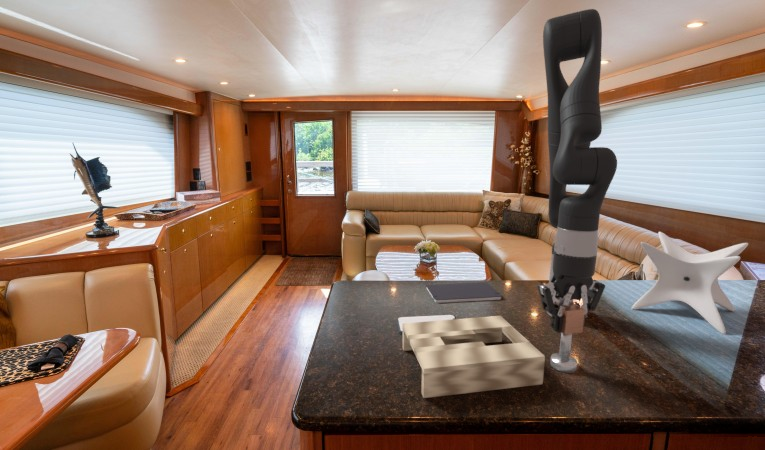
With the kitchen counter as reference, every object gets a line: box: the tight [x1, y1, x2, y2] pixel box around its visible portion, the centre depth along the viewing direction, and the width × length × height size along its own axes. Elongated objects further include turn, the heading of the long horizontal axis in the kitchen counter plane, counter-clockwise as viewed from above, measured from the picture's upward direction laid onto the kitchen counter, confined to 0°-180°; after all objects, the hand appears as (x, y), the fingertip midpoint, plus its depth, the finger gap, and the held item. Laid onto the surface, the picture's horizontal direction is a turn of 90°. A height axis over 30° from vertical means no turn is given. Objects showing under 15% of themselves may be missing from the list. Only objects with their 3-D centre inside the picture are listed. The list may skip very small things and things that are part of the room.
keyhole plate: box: [401, 315, 546, 399], centre depth 77 cm, size 24×18×6 cm
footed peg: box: [549, 302, 585, 374], centre depth 76 cm, size 5×5×14 cm
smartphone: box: [395, 314, 457, 336], centre depth 95 cm, size 9×2×16 cm
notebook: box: [425, 281, 503, 304], centre depth 117 cm, size 13×2×21 cm
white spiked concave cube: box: [631, 231, 749, 335], centre depth 102 cm, size 20×20×20 cm
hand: (566, 329), depth 76 cm, fingers closed on footed peg, 4 cm apart
